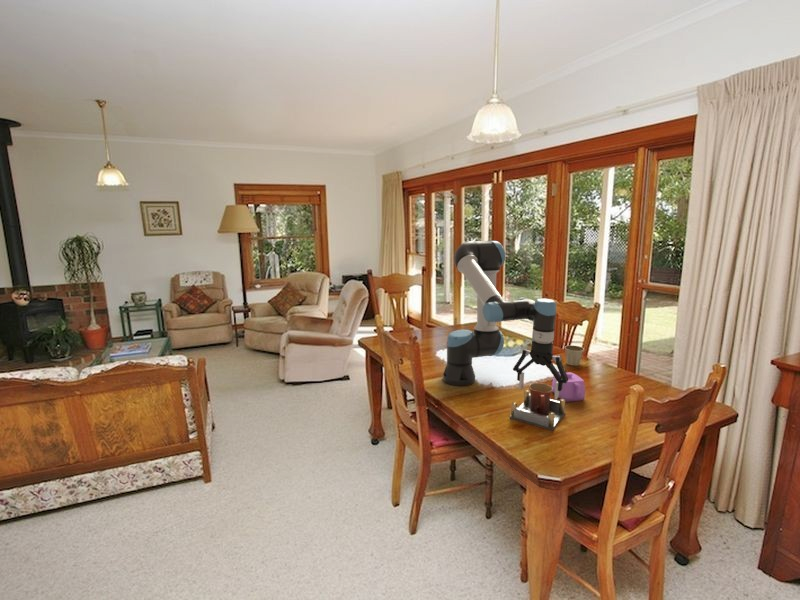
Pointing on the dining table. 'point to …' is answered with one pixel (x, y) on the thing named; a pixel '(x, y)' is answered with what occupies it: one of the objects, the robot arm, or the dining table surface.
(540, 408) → the mug
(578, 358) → the flower pot
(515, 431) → the dining table surface
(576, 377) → the teapot
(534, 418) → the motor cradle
